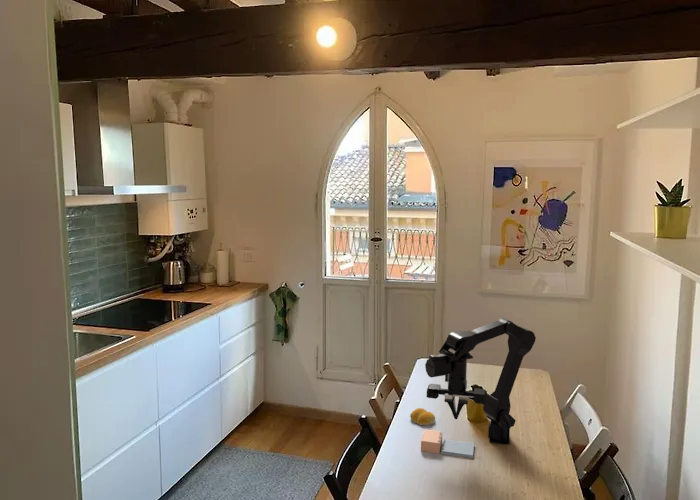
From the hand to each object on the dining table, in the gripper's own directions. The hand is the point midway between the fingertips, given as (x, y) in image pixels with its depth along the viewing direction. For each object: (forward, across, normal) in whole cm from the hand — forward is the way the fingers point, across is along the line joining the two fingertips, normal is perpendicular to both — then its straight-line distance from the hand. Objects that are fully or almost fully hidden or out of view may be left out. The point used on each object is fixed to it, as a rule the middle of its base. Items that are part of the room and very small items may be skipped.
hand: (455, 418), depth 176 cm
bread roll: (+11, +13, -18) cm, 25 cm away
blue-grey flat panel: (+11, -1, 0) cm, 11 cm away
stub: (+11, +8, 0) cm, 13 cm away
